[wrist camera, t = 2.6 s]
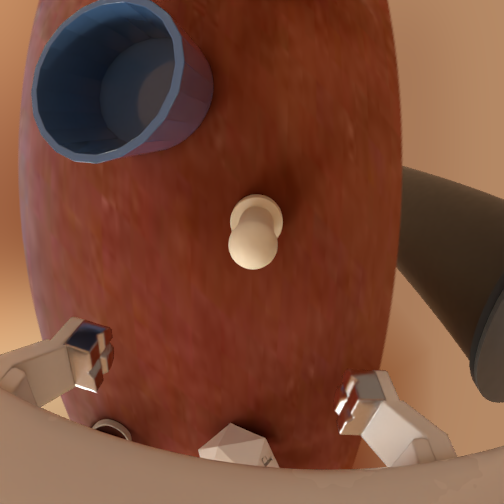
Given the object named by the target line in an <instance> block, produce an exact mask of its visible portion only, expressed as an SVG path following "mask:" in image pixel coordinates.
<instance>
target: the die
mask: <svg viewBox="0 0 504 504" xmlns="http://www.w3.org/2000/svg"><path fill="white" fill-rule="evenodd" d="M198 451H199V455H200V458H205V459H211V460H217V461H223V462H230V463H237V464H245V465H254V466H264V467H276V468H280V467H279V465H278V463H277V461H276V459H275V457H274V455H273V453H272V451H271V448H270V446H269V444H268V442H267V440H266V438H264V437H261V436H259V435H257V434H254V433H252V432H250V431H247V430H245V429H243V428H241V427H238V426H236V425H234V424H232V423H230V424H229V425H227V426H226V427H225V428H224V429H223V430H222V431H220V432H219V433H218V434H217V435H216V436H214V437H213V438H212V439H211V440H210V441H208V442H207V443H206V444H205V445H203V446H202V447H201V448H200V449H198Z"/></svg>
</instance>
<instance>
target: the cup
mask: <svg viewBox="0 0 504 504" xmlns="http://www.w3.org/2000/svg"><path fill="white" fill-rule="evenodd" d="M31 96H32V108H33V116H34V119H35V121H36V124H37V126H38V128H39V131H40V133H41V135H42V137H43V138H44V139H45V140H46V141H47V142H48V144H49V145H50V146H51V147H52V148H53V149H54V150H55V151H56V152H57V153H59V154H61V155H63V156H65V157H67V158H69V159H71V160H73V161H75V162H85V163H95V164H97V163H102V162H107V161H111V160H116V159H121V158H126V157H130V156H136V155H141V154H146V153H151V152H156V151H160V150H165V149H168V148H170V147H173V146H175V145H177V144H179V143H180V142H182V141H183V140H185V139H186V138H188V137H189V136H190V135H191V134H192V133H193V132H194V131H195V130H196V129H197V128H198V127H199V125H200V124H201V122H202V121H203V120H204V118H205V116H206V114H207V112H208V110H209V107H210V105H211V101H212V97H213V76H212V71H211V68H210V65H209V63H208V61H207V59H206V57H205V56H204V54H203V53H202V51H201V50H200V48H199V47H198V46H197V45H196V44H195V43H194V41H193V40H192V39H191V38H190V37H189V36H188V35H187V33H186V32H185V31H184V30H183V29H182V28H181V27H180V25H179V24H178V23H177V22H176V21H175V20H174V19H173V18H172V17H171V15H170V14H169V13H167V12H166V11H165V10H163V9H162V8H161V7H159V6H158V5H157V4H155V3H154V2H153V1H151V0H98V1H96V2H94V3H91V4H89V5H87V6H85V7H82V8H81V9H79V10H78V11H77V12H76V13H74V14H73V15H72V16H71V17H69V18H68V19H67V20H66V21H64V22H63V23H62V24H61V25H60V26H59V28H58V29H57V30H56V31H55V33H54V34H53V35H52V37H51V38H50V39H49V41H48V42H47V43H46V45H45V47H44V49H43V51H42V54H41V56H40V58H39V60H38V63H37V65H36V68H35V72H34V78H33V84H32V90H31Z"/></svg>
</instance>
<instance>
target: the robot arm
mask: <svg viewBox="0 0 504 504" xmlns="http://www.w3.org/2000/svg"><path fill="white" fill-rule="evenodd" d="M112 338H113V337H112V329H111V328H110V327H107V326H103V325H100V324H97V323H94V322H90V321H87V320H83V319H80V318H77V317H71V318H70V319H69V320H68V321H67V322H66V324H65V325H64V326H63V327H62V328H61V329H60V330H59V331H58V332H57V333H56V335H55V336H54V337H53V338H52V339H51V340H48V339H46V340H43V341H40V342H37V343H34V344H31V345H28V346H25V347H22V348H19V349H16V350H13V351H10V352H7V353H4V354H1V355H0V504H504V446H501V447H498V448H494V449H491V450H487V451H483V452H479V453H475V454H470V455H466V456H461V457H457V455H456V453H455V450H454V448H453V446H452V444H451V441H450V439H449V437H448V435H447V434H446V433H445V432H443V431H442V430H441V429H439V428H438V427H437V426H435V425H434V424H433V423H432V422H430V421H429V420H427V419H426V418H425V417H424V416H422V415H421V414H420V413H418V412H417V411H416V410H415V409H413V408H412V407H411V406H409V405H408V404H407V403H406V402H404V401H400V400H399V397H398V395H397V393H396V390H395V388H394V386H393V383H392V381H391V379H390V376H389V374H388V372H387V371H385V370H358V369H346V370H345V372H344V374H343V376H342V380H343V383H342V384H340V385H339V386H338V387H337V389H336V392H335V395H334V410H335V412H336V413H337V414H338V415H339V416H338V418H337V420H336V421H337V426H338V431H339V434H341V435H362V436H361V437H362V438H363V439H364V440H365V441H366V442H367V444H368V445H369V446H370V447H371V448H372V449H373V450H374V452H375V453H376V454H377V455H378V456H379V457H380V459H381V460H382V461H383V462H384V463H385V464H386V466H387V467H384V468H369V469H343V470H317V469H290V468H276V467H264V466H254V465H245V464H237V463H230V462H223V461H217V460H211V459H205V458H200V457H195V456H190V455H185V454H180V453H176V452H171V451H167V450H163V449H159V448H155V447H151V446H147V445H143V444H140V443H136V442H133V441H129V440H126V439H123V438H119V437H116V436H113V435H110V434H107V433H104V432H101V431H98V430H95V429H92V428H90V427H87V426H84V425H81V424H79V423H76V422H74V421H71V420H69V419H66V418H64V417H61V416H59V415H57V414H54V413H52V412H50V411H47V410H45V409H43V408H41V407H42V406H43V405H45V404H47V403H48V402H50V401H52V400H54V399H55V398H57V397H59V396H61V395H62V394H64V393H66V392H68V391H69V390H71V389H73V388H74V387H75V386H77V387H80V388H83V389H87V390H90V391H93V392H97V391H98V389H99V387H100V385H101V384H102V382H103V374H105V373H107V372H109V370H110V368H111V366H112V363H113V359H114V347H113V346H112V345H111V343H110V341H111V339H112Z"/></svg>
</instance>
